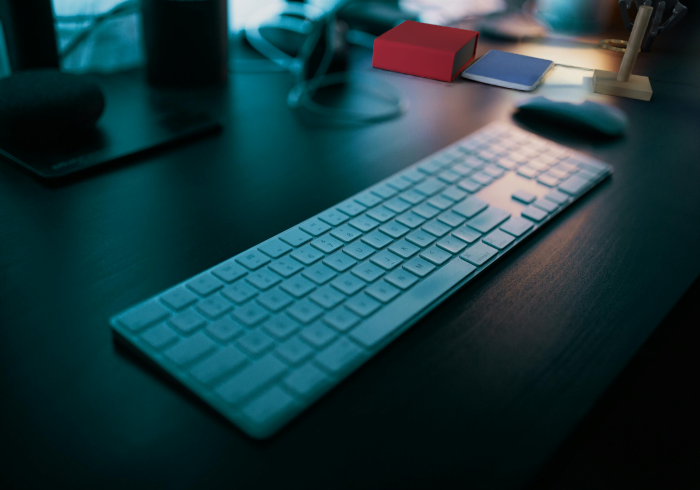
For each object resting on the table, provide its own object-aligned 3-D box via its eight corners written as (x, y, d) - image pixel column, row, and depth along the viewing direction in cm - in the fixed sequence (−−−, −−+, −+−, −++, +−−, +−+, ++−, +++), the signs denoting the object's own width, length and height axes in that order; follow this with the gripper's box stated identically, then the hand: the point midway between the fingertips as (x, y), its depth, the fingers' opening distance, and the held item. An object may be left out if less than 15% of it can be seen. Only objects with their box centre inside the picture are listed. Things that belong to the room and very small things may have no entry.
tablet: (489, 54, 114) (491, 47, 114) (554, 66, 110) (556, 59, 109) (458, 79, 100) (460, 72, 99) (531, 95, 96) (533, 87, 95)
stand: (645, 85, 104) (673, 5, 96) (649, 101, 97) (680, 16, 89) (592, 77, 106) (616, -2, 98) (593, 92, 99) (618, 8, 91)
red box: (405, 45, 116) (408, 19, 113) (474, 57, 112) (479, 30, 109) (371, 68, 102) (374, 39, 99) (449, 83, 98) (454, 53, 95)
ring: (638, 48, 126) (640, 42, 125) (641, 58, 119) (643, 52, 118) (597, 42, 128) (599, 36, 127) (598, 51, 121) (600, 45, 120)
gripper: (630, -40, 111) (603, 52, 121) (709, -32, 108) (674, 62, 118) (628, -45, 117) (602, 43, 127) (702, -37, 114) (670, 52, 124)
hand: (637, 52), depth 122 cm, fingers closed
